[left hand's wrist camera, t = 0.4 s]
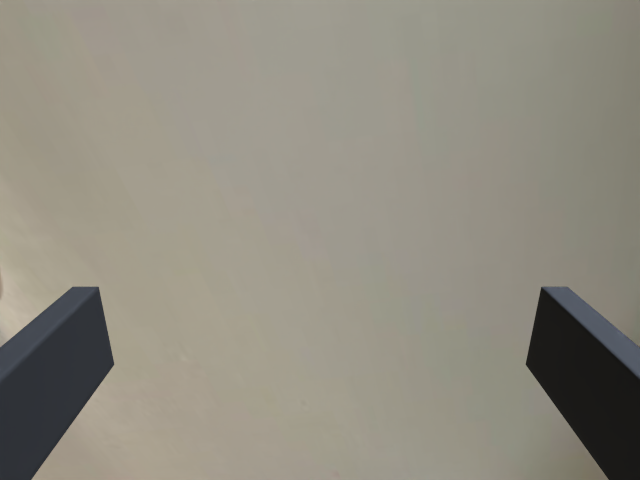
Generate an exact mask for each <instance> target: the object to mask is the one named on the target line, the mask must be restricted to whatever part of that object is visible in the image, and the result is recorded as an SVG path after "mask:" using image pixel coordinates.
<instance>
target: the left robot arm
mask: <svg viewBox="0 0 640 480" xmlns="http://www.w3.org/2000/svg"><path fill="white" fill-rule="evenodd" d="M113 365H114V361H113V356H112V351H111V346H110V341H109V336H108V331H107V326H106V321H105V316H104V311H103V306H102V302H101V297H100V292H99V287H72V288H71V289H70V290H68V291H67V292H66V293H65V294H64V295H62V296H61V297H60V298H59V299H58V300H56V301H55V302H54V303H53V304H52V305H50V306H49V307H48V308H47V309H46V310H44V311H43V312H42V313H41V314H40V315H39V316H37V317H36V318H35V319H34V320H33V321H31V322H30V323H29V324H28V325H27V326H25V327H24V328H23V329H22V330H21V331H19V332H18V333H17V334H16V335H15V336H14V337H12V338H11V339H10V340H9V341H8V342H6V343H5V344H4V345H3V346H2V347H0V480H31V479H32V478H33V476H34V475H35V474H36V472H37V471H38V469H39V468H40V467H41V465H42V464H43V462H44V461H45V460H46V458H47V457H48V456H49V454H50V453H51V451H52V450H53V449H54V447H55V446H56V444H57V443H58V442H59V440H60V439H61V438H62V436H63V435H64V433H65V432H66V431H67V429H68V428H69V426H70V425H71V424H72V422H73V421H74V419H75V418H76V417H77V415H78V414H79V413H80V411H81V410H82V408H83V407H84V406H85V404H86V403H87V401H88V400H89V399H90V397H91V396H92V395H93V393H94V392H95V390H96V389H97V388H98V386H99V385H100V383H101V382H102V381H103V379H104V378H105V377H106V375H107V374H108V372H109V371H110V370H111V368H112V367H113ZM526 365H527V367H528V368H529V370H530V371H531V372H532V374H533V375H534V377H535V378H536V379H537V381H538V382H539V383H540V385H541V386H542V388H543V389H544V390H545V392H546V393H547V395H548V396H549V397H550V399H551V400H552V401H553V403H554V404H555V406H556V407H557V408H558V410H559V411H560V413H561V414H562V415H563V417H564V418H565V419H566V421H567V422H568V424H569V425H570V426H571V428H572V429H573V431H574V432H575V433H576V435H577V436H578V438H579V439H580V440H581V442H582V443H583V444H584V446H585V447H586V449H587V450H588V451H589V453H590V454H591V456H592V457H593V458H594V460H595V461H596V462H597V464H598V465H599V467H600V468H601V469H602V471H603V472H604V474H605V475H606V476H607V478H608V479H609V480H640V347H638V346H637V345H636V344H635V343H634V342H632V341H631V340H630V339H629V338H628V337H626V336H625V335H624V334H623V333H622V332H621V331H619V330H618V329H617V328H616V327H615V326H613V325H612V324H611V323H610V322H609V321H607V320H606V319H605V318H604V317H603V316H601V315H600V314H599V313H598V312H597V311H596V310H594V309H593V308H592V307H591V306H590V305H588V304H587V303H586V302H585V301H584V300H582V299H581V298H580V297H579V296H578V295H576V294H575V293H574V292H573V291H572V290H570V289H569V288H568V287H541V292H540V297H539V302H538V306H537V311H536V316H535V321H534V326H533V331H532V336H531V341H530V346H529V351H528V356H527V361H526Z"/></svg>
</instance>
